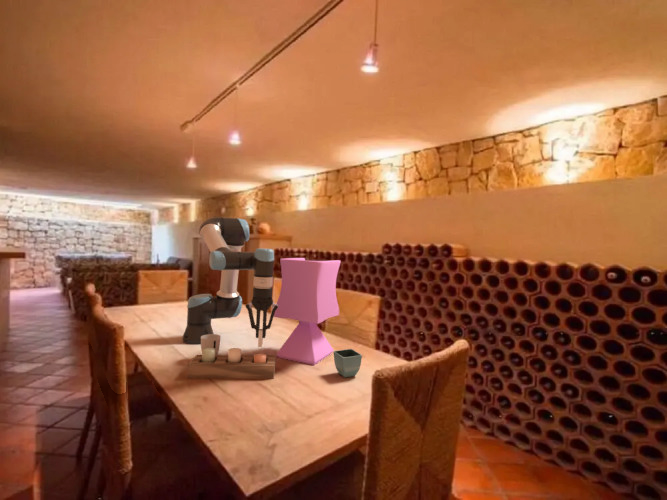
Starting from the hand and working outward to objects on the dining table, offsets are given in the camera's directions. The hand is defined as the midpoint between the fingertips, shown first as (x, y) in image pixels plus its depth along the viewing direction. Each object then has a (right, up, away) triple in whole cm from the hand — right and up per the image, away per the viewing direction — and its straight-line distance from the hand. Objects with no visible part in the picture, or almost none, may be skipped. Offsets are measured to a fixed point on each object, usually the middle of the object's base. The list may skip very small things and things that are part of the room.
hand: (260, 345), depth 135 cm
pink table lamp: (+16, -11, +24) cm, 31 cm away
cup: (-25, -10, +12) cm, 29 cm away
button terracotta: (0, -8, 0) cm, 8 cm away
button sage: (-20, -5, -2) cm, 21 cm away
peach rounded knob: (-10, -6, -1) cm, 12 cm away
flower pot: (+35, -13, +2) cm, 37 cm away
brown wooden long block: (-10, -10, -1) cm, 15 cm away
